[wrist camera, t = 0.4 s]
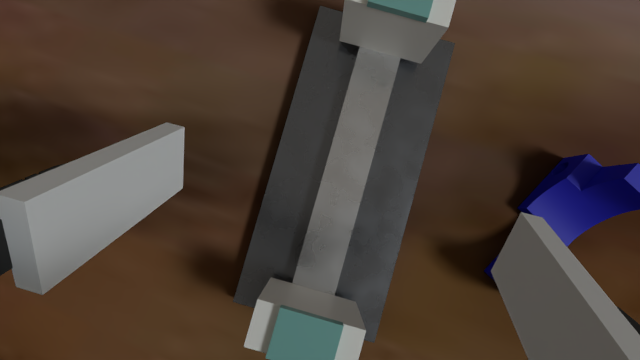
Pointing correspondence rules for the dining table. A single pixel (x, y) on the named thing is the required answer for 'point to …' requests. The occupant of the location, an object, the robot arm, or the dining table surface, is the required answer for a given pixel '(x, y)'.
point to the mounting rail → (345, 171)
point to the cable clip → (582, 196)
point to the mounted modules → (308, 304)
